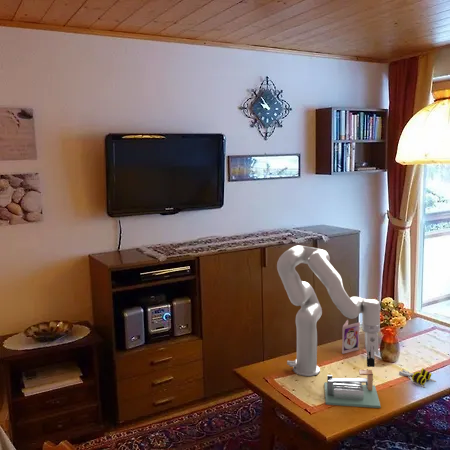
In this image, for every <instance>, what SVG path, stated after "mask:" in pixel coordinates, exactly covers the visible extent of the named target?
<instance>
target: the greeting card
mask: <svg viewBox="0 0 450 450" xmlns="http://www.w3.org/2000/svg"><path fill="white" fill-rule="evenodd" d="M360 323H361V322H354V323H351V324H349V319H346V321H345V323H344V324H343V325H342V335H341V336H342V339H341V340H342V343H341V345H342V347H341V354H348V353H351V352H355V351H358V350H360V332H361V331H360V327H361V325H360Z"/></svg>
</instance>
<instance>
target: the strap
mask: <svg viewBox="0 0 450 450" xmlns="http://www.w3.org/2000/svg"><path fill="white" fill-rule="evenodd" d="M329 380H333V382H334V383H362V384H365V385H366V386H368V381H367V377H332V378H329Z"/></svg>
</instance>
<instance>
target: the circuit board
mask: <svg viewBox="0 0 450 450" xmlns="http://www.w3.org/2000/svg"><path fill="white" fill-rule="evenodd" d="M323 383H324V398H325V405H329V406H330V405H331V406H341V407H342V406H343V407H357V408H358V407H360V408H371V409H372V408H373V409H376V408H377V409H381V401H380V399H379V395H378V391H377V389H376V385H375V384H374V385H373V386H372V390H368V388H367V386H366V384H362V388H363V400H356V399H341V398H334V394H333V396H330V395H328V390H327V382H325V381H324V382H323Z"/></svg>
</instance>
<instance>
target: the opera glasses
mask: <svg viewBox="0 0 450 450" xmlns="http://www.w3.org/2000/svg"><path fill="white" fill-rule="evenodd" d="M411 377H412V380H413V381H416V382H417V383H419V384H420V385H422V386H424V385H425V383H427V380H428V381H431V380H430V379H432V378H431V377H432V372H429V371H428V370H427V369H424V367H422V368H421V371H416V372H415V373H413V376H411Z"/></svg>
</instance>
